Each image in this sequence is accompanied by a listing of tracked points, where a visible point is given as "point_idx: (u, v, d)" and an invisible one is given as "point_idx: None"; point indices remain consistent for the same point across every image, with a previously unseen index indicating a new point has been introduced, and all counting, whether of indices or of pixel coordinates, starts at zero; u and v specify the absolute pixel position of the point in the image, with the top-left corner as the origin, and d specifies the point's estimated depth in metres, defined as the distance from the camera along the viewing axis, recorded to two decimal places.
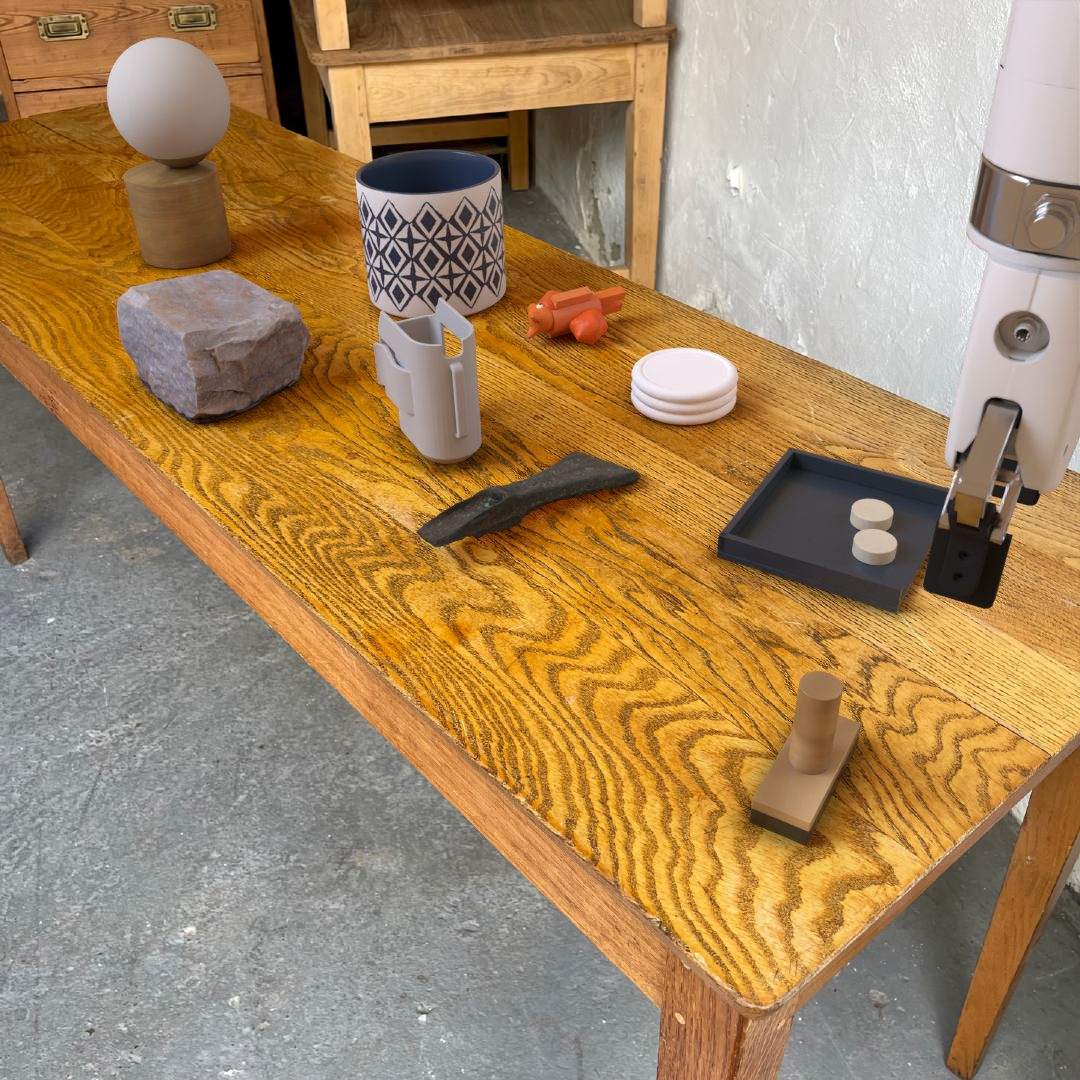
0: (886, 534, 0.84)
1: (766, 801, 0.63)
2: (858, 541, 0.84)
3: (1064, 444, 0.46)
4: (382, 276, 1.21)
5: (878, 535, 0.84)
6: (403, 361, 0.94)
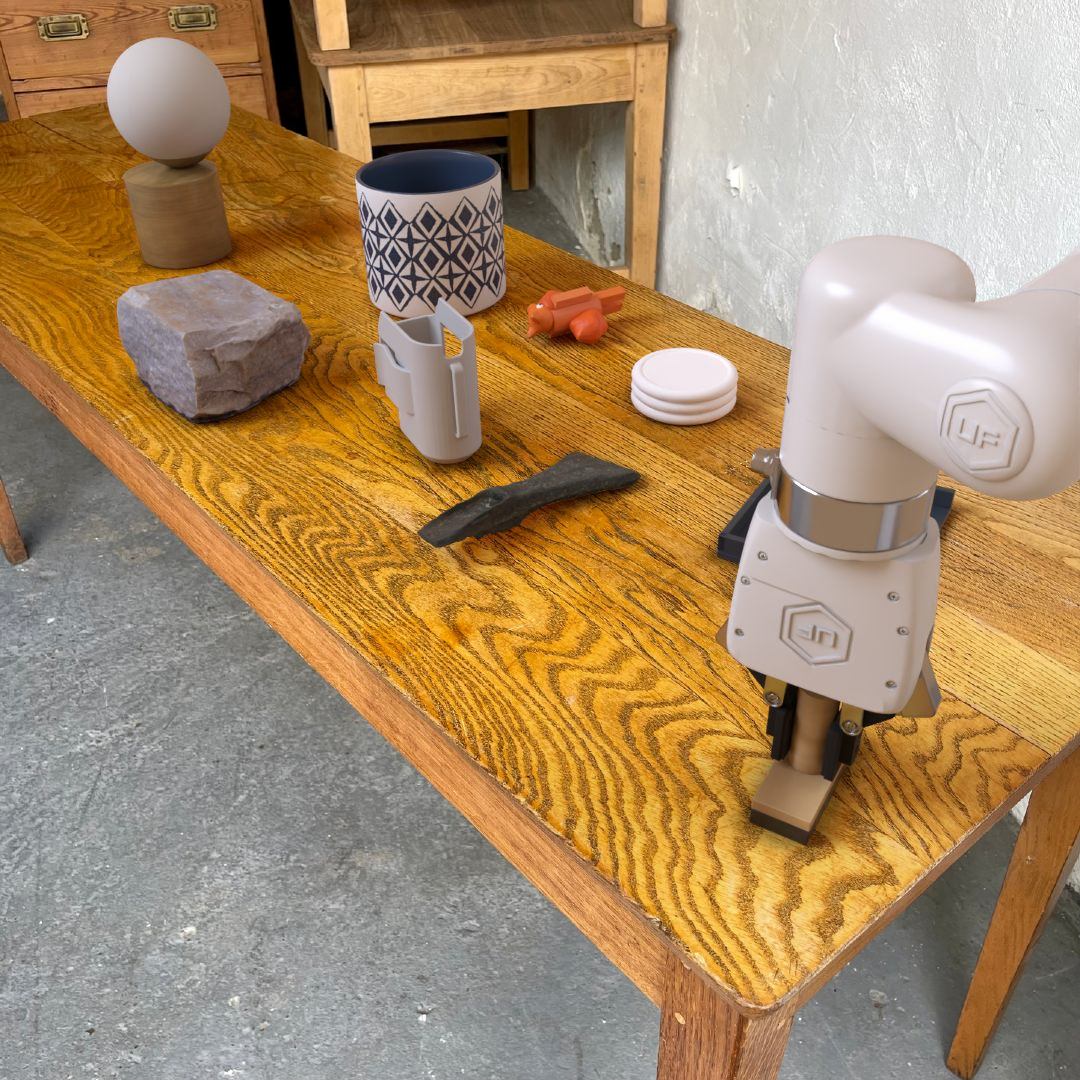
0: None
1: (766, 801, 0.63)
2: None
3: (733, 622, 0.60)
4: (382, 276, 1.21)
5: None
6: (403, 361, 0.94)
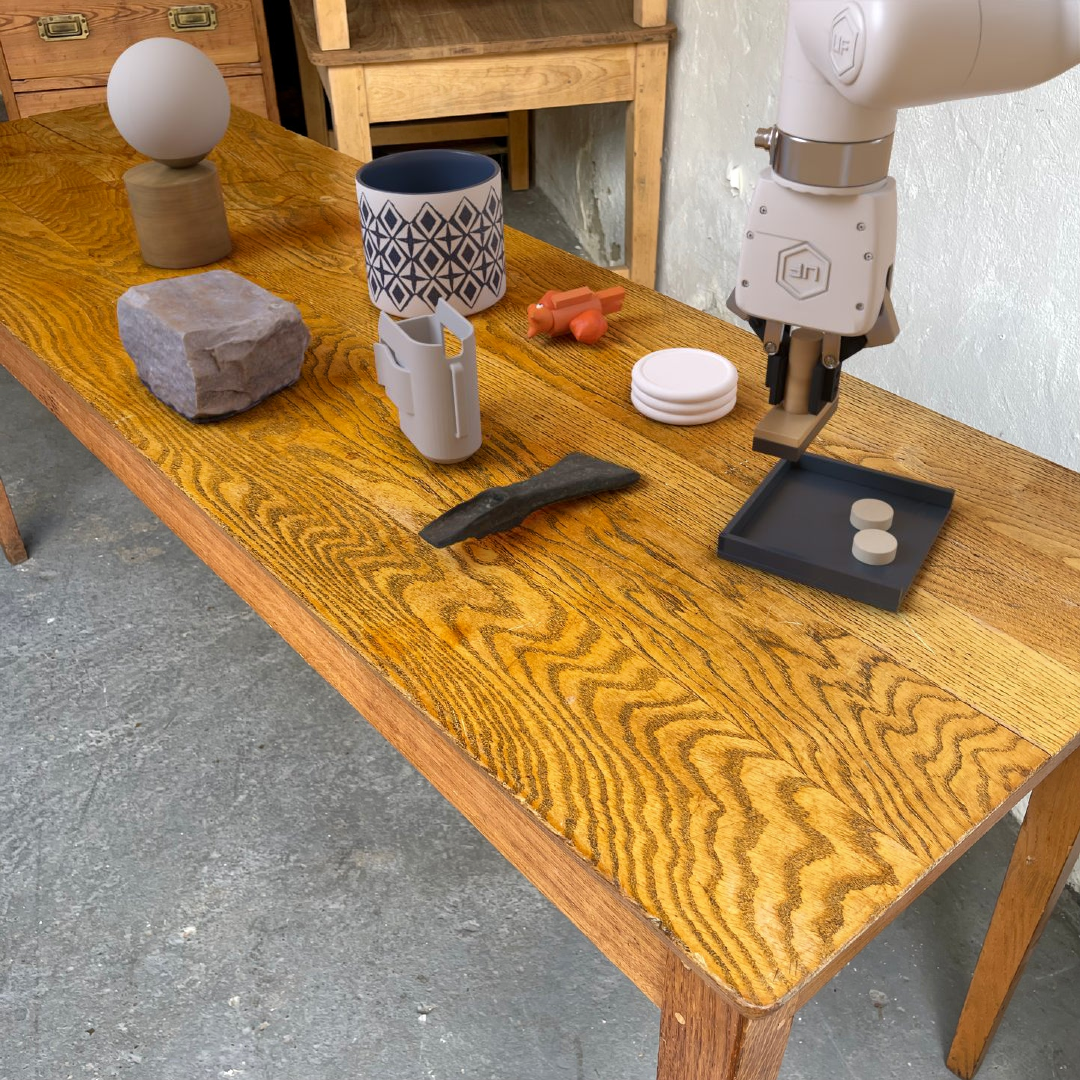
0: (886, 534, 0.84)
1: (765, 428, 0.81)
2: (858, 541, 0.84)
3: (740, 275, 0.78)
4: (382, 276, 1.21)
5: (878, 535, 0.84)
6: (403, 361, 0.94)
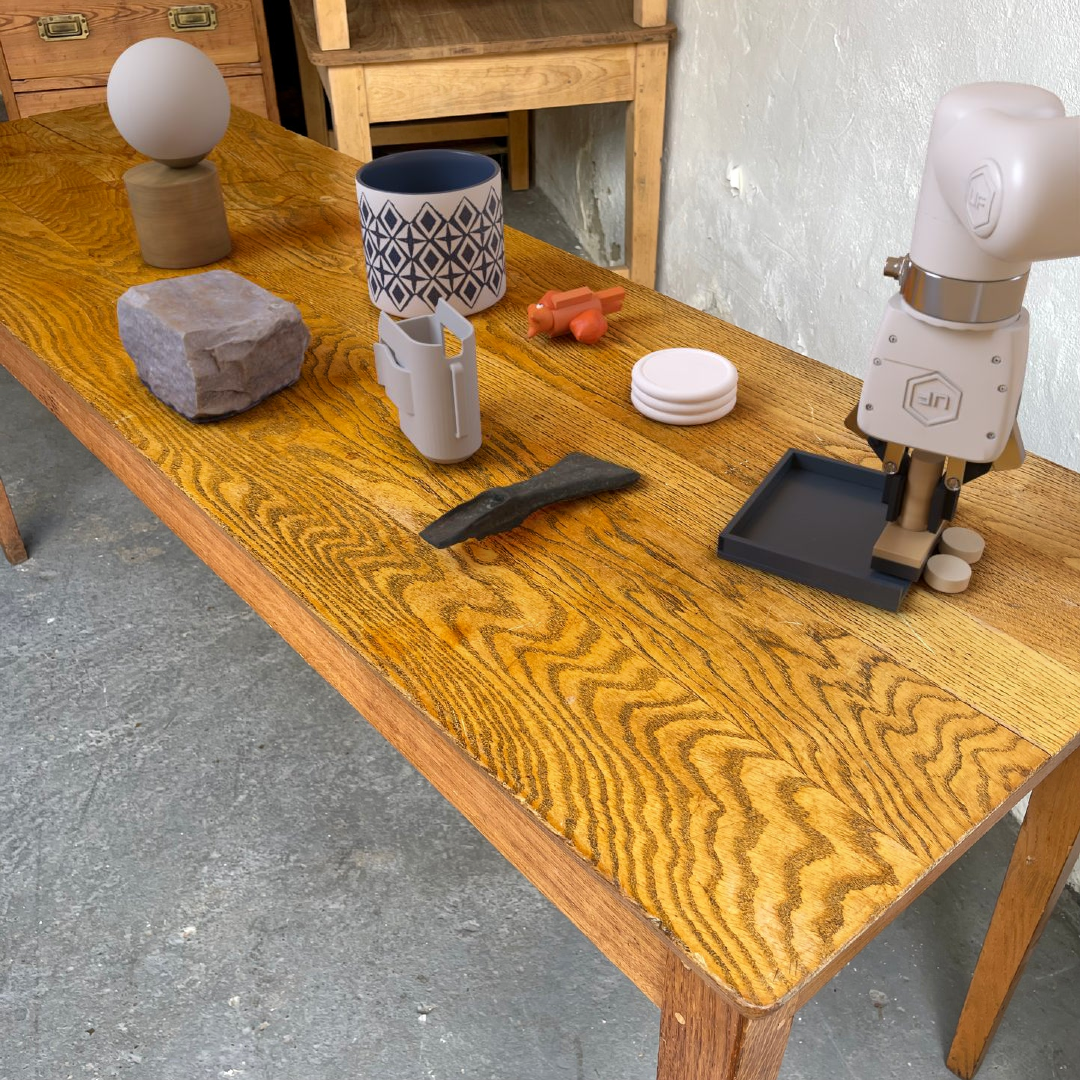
0: (959, 560, 0.82)
1: (885, 548, 0.81)
2: (931, 567, 0.82)
3: (864, 399, 0.77)
4: (382, 276, 1.21)
5: (952, 561, 0.82)
6: (403, 361, 0.94)
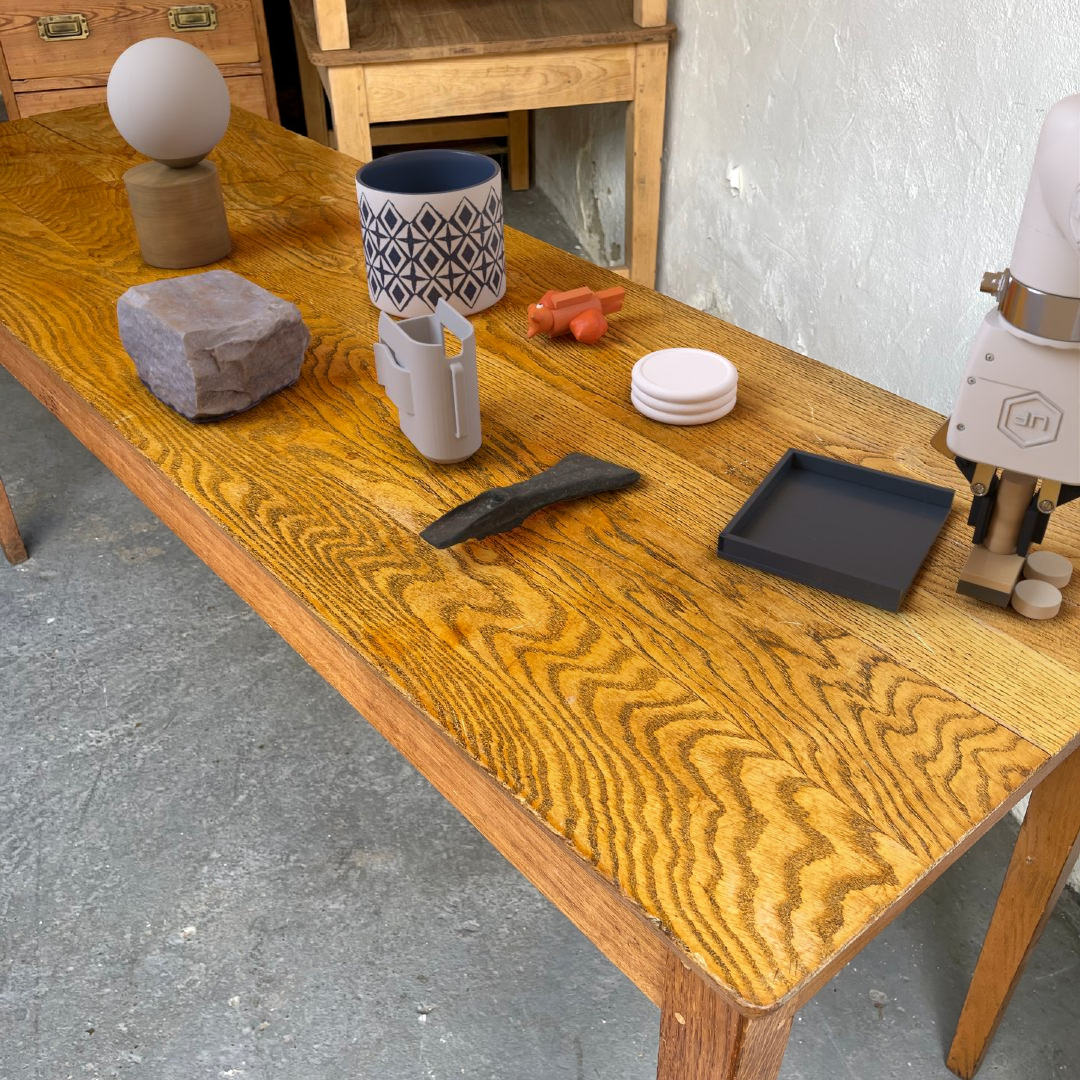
0: (1048, 586, 0.80)
1: (973, 572, 0.78)
2: (1020, 593, 0.79)
3: (956, 419, 0.75)
4: (382, 276, 1.21)
5: (1041, 587, 0.80)
6: (403, 361, 0.94)
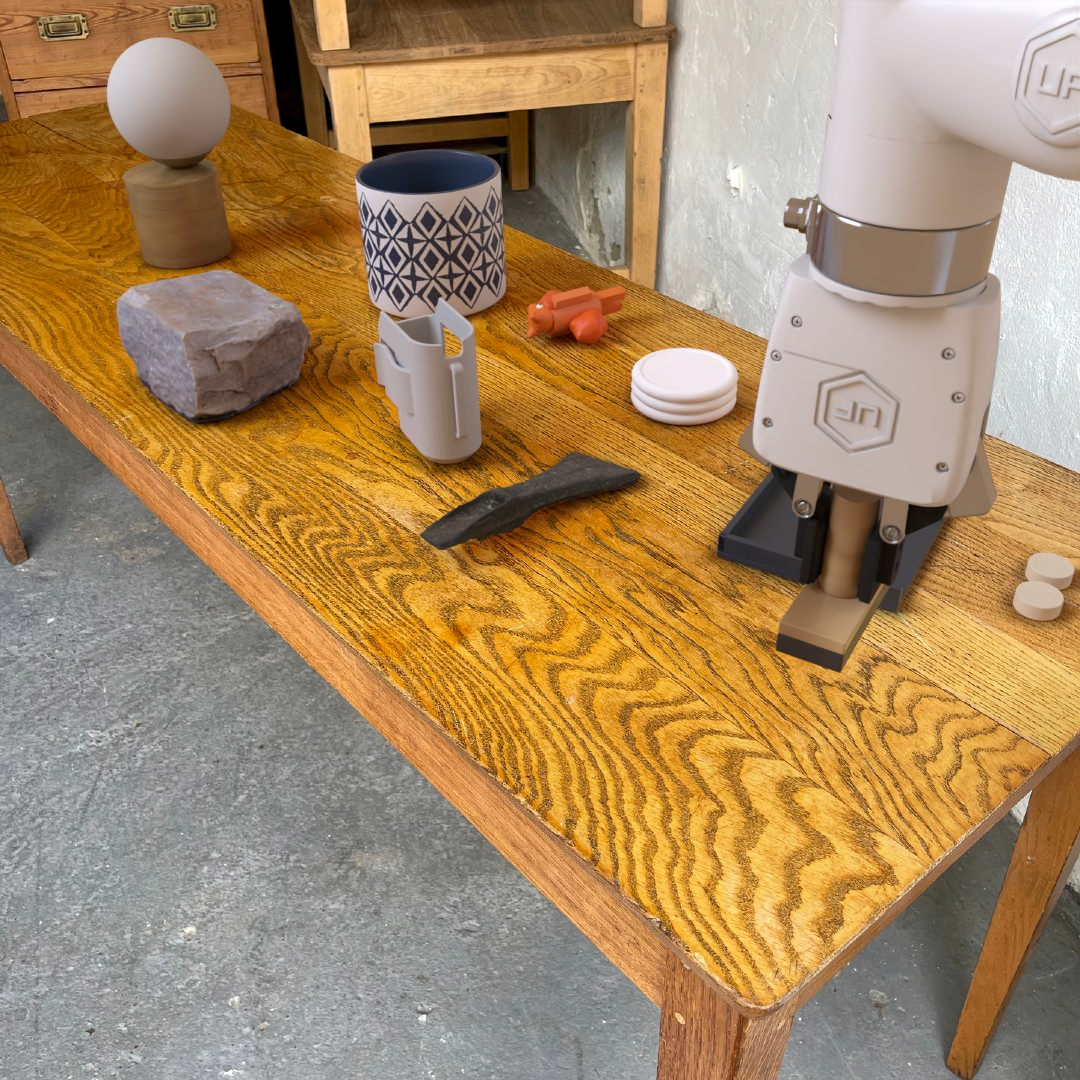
0: (1050, 587, 0.80)
1: (795, 623, 0.56)
2: (1022, 594, 0.79)
3: (760, 410, 0.53)
4: (382, 276, 1.21)
5: (1042, 588, 0.79)
6: (403, 361, 0.94)
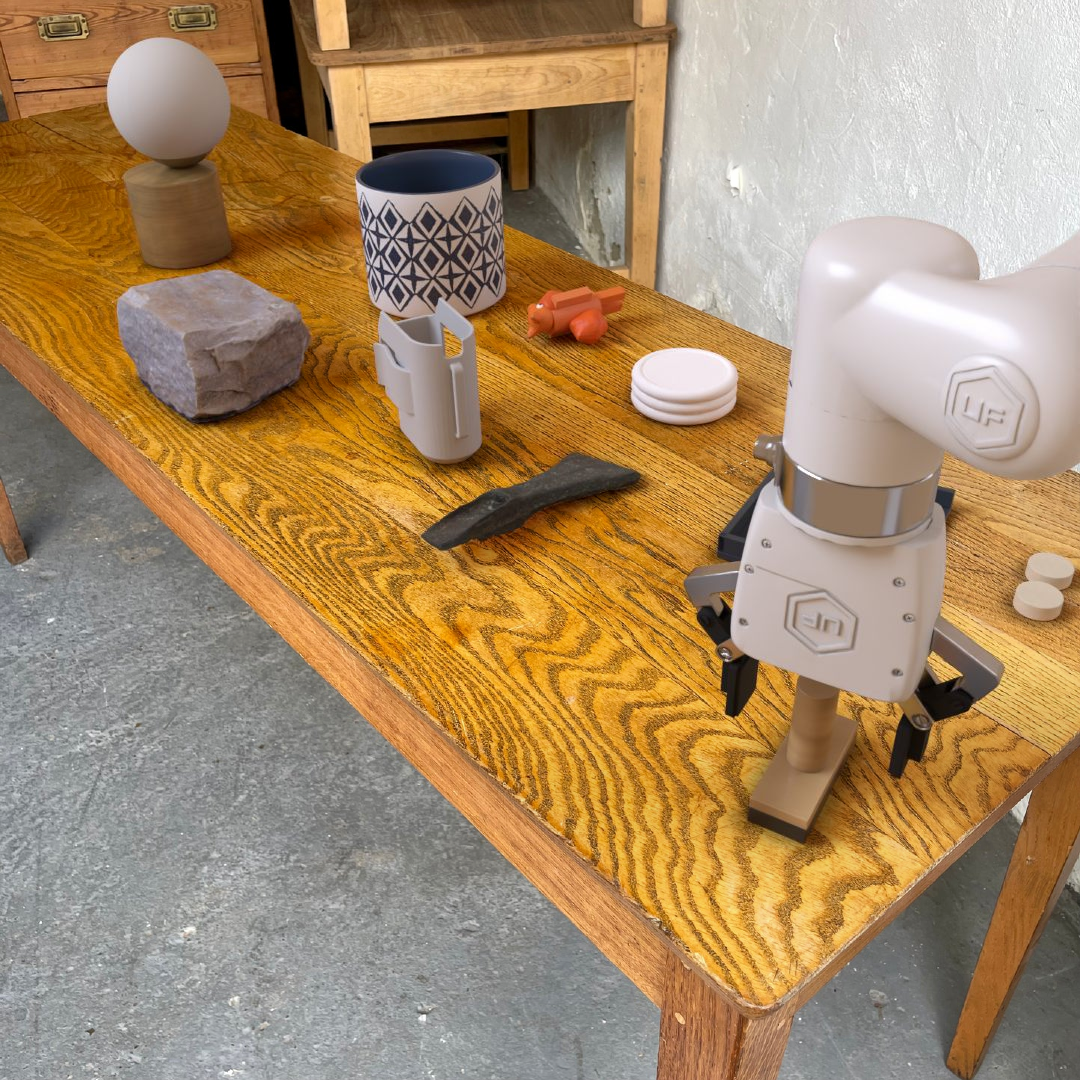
0: (1050, 587, 0.80)
1: (764, 799, 0.63)
2: (1022, 594, 0.79)
3: (737, 612, 0.59)
4: (382, 276, 1.21)
5: (1042, 588, 0.79)
6: (403, 361, 0.94)
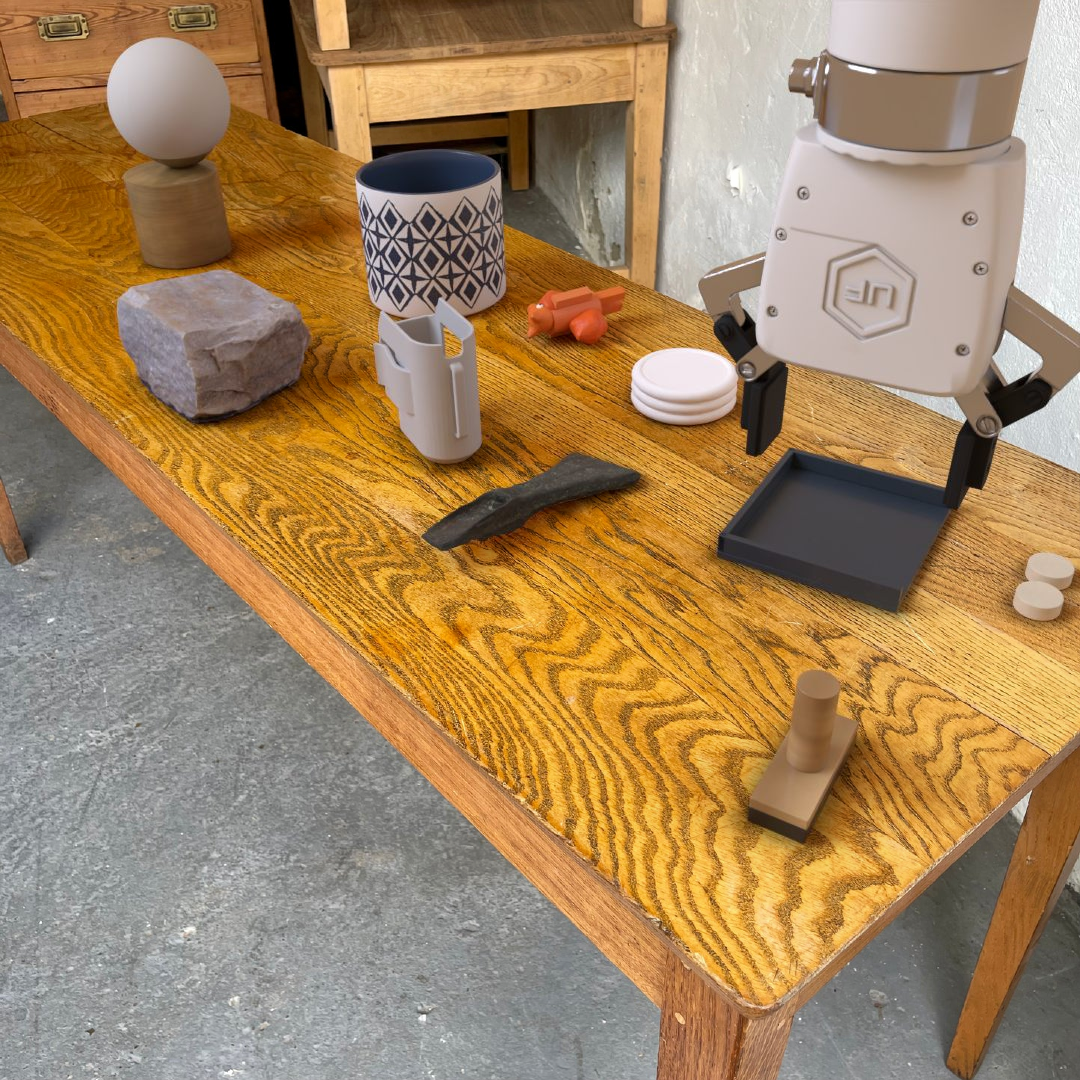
0: (1050, 587, 0.80)
1: (764, 799, 0.63)
2: (1022, 594, 0.79)
3: (764, 298, 0.49)
4: (382, 276, 1.21)
5: (1042, 588, 0.79)
6: (403, 361, 0.94)
